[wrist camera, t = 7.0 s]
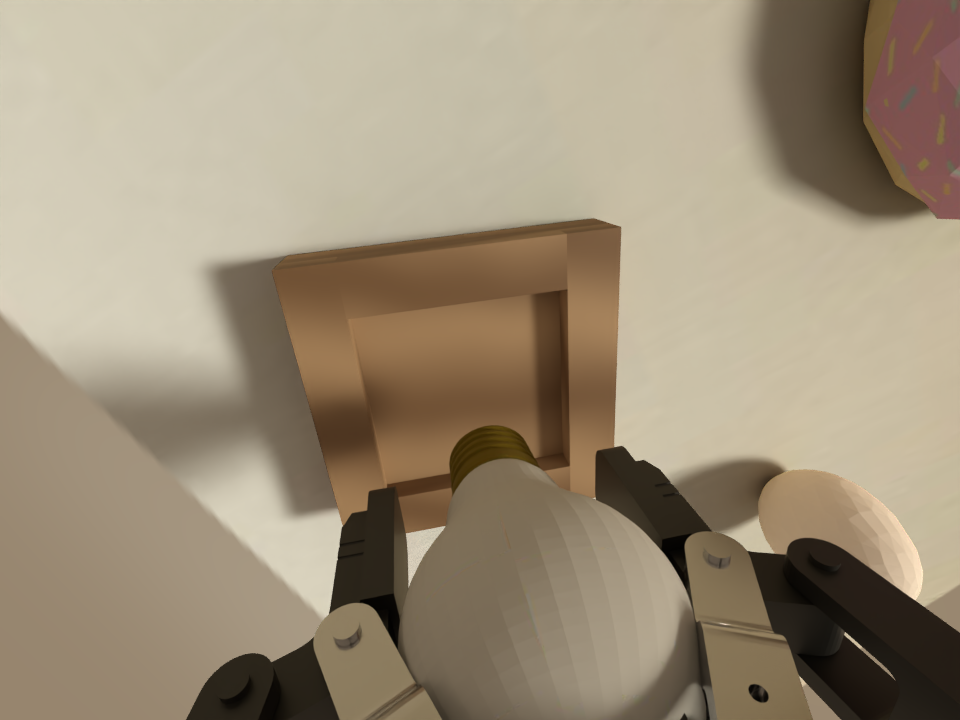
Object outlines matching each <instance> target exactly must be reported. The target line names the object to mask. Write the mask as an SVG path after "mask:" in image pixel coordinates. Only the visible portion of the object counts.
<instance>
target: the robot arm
mask: <svg viewBox="0 0 960 720" xmlns="http://www.w3.org/2000/svg"><path fill="white" fill-rule="evenodd" d="M595 496H596V500H597V501H599V502H601V503H604V504H606V505H608V506H610V507H612V508H613V509H615V510H616V511H618V512H619V513H621V514H622V515H623V516H625V517H626V518H628V519H629V520H631V521H632V522H633V523H634V524H636V525H637V526H638V527H639V528H640V529H641V530H643V531H644V532H645V533H646V534H647V535H648V537H649V538H650V539H651V540H652V541H653V542H654V543H655V544H656V545H657V546H658V547H659V549H660V550H661V551H662V552H663V553H664V554H665V556H666V557H667V559H668V560H669V561H670V563H671V564H672V566H673V567H674V569H675V571H676V572H677V574H678V576H679V578H680V579H681V581H682V583H683V585H684V587H685V589H686V591H687V593H688V594H689V597H690V600H691V603H692V607H693V612H694V617H695V623H696V630H697V638H698V648H699V661H700V679H701V689H702V691H703V693H704V698H705V703H706V720H813V718H812V715H811V712H810V709H809V706H808V703H807V700H806V697H805V694H804V690H803V687H802V684H801V681H800V678H799V676H800V677H801V678H802V679H803V680H804V681H805V682H806V683H807V684H808V685H809V686H810V687H811V688H812V689H813V690H814V692H815V693H816V694H817V695H818V696H819V697H820V698H821V699H822V700H823V701H824V702H825V703H826V704H827V705H828V706H829V707H830V708H831V709H832V710H833V711H834V712H835V714H836V715H837V716H838V717H839V718H840V719H841V720H960V633H959V632H958V631H956V630H955V629H954V628H952V627H951V626H949V625H948V624H947V623H946V622H944V621H943V620H941V619H940V618H939V617H937V616H936V615H934V614H933V613H932V612H930V611H929V610H927V609H926V608H925V607H923V606H922V605H921V604H919V603H918V602H916V601H915V600H914V599H912V598H911V597H909V596H908V595H907V594H905V593H904V592H903V591H901V590H900V589H898V588H897V587H896V586H894V585H893V584H891V583H890V582H889V581H887V580H886V579H884V578H883V577H882V576H880V575H879V574H878V573H876V572H875V571H873V570H872V569H871V568H869V567H868V566H866V565H865V564H864V563H862V562H861V561H860V560H858V559H857V558H855V557H854V556H853V555H851V554H850V553H848V552H847V551H845V550H844V549H842V548H841V547H839V546H837V545H835V544H833V543H830V542H827V541H824V540H821V539H816V538H799V539H796V540H794V541H792V542H791V543H790V544H789V546H788V548H787V552H786V554H772V553H758V552H750V551H747V550H746V549H745V548H744V547H743V546H742V545H741V544H740V543H739V542H737V541H736V540H734V539H733V538H731V537H729V536H726V535H724V534H721V533H717V532H712V531H711V530H710V528H709V527H708V526H707V525H706V524H705V522H704V521H703V520H702V519H701V518H700V517H699V515H698V514H697V513H696V512H695V511H694V509H693V508H692V507H691V506H690V505H689V503H688V502H687V501H686V500H685V499H684V498H683V496H682V495H679V492H678V490H677V489H676V488H675V487H674V486H673V485H672V484H671V483H670V481H669V480H668V479H667V477H666V476H665V475H664V474H663V473H662V472H661V470H660V469H658V468H656V467H655V466H653V465H651V464H650V463H648V462H647V461H645V460H641V461H635V460H634V459H633V457H632V456H631V455H630V454H629V452H628V451H627V450H626V449H625V448H624V447H623V446H619V447H614V448H608V449H602V450H598V451H597V452H596V457H595ZM408 589H409V588H408V553H407V540H406V533H405V527H404V522H403V517H402V512H401V508H400V503H399V498H398V493H397V489H396V486H393V487H388V488H382V489H377V490H371V491H369V493H368V504H367V510H366V511H361V512H355V513H351V515H350V517H349V518H348V520H347V521H346V523H345V524H344V526H343V527H342V531H341V538H340V547H339V551H338V561H337V565H336V572H335V579H334V586H333V592H332V599H331V606H330V611H329V615H328V616H327V617H326V618H325V619H324V620H323V621H322V622H321V624H320V625H319V627H318V629H317V631H316V633H315V636H314V637H313V638H312V639H311V640H310V641H309V642H308V643H306V644H305V645H304V646H302V647H300V648H299V649H297V650H295V651H293V652H291V653H289V654H287V655H285V656H283V657H281V658H279V659H277V660H276V661H273V662H270V660H269V659H268V658H267V657H265V656H264V655H261V654H255V653H251V654H245V655H242V656H239V657H236V658H234V659H232V660H230V661H229V662H227V663H226V664H224V665H223V666H221V667H220V668H219V669H218V670H217V671H216V672H214V674H213V675H212V676H211V677H210V678H209V679H208V681H207V682H206V683H205V685H204V686H203V688H202V690H201V692H200V693H199V695H198V697H197V699H196V701H195V703H194V705H193V707H192V709H191V711H190V713H189V715H188V717H187V719H186V720H442V719H441V717H440V715H439V713H438V711H437V710H436V708H435V706H434V704H433V702H432V701H431V699H430V697H429V695H428V694H427V692H426V690H425V689H424V688H423V686H422V685H421V684H419V685H417V684H416V683H415V681H414V679H413V678H412V676H411V674H410V672H409V670H408V669H407V667H406V665H405V663H404V661H403V659H402V658H401V656H400V654H399V652H398V634H399V625H400V619H401V614H402V610H403V607H404V603H405V599H406V595H407V592H408ZM845 632H846V633H847V634H848V635H850V636H851V637H852V638H853V639H854V640H855V641H856V642H858V643H859V644H860V645H861V646H862V647H863V648H864V649H866V650H867V651H868V652H869V653H870V654H871V655H872V656H874V657H875V658H876V659H877V660H878V661H879V662H880V663H882V664H883V665H884V666H885V667H886V668H887V669H888V670H889V671H890V672H891V674H892V675H893V677H894V678H895V680H894V679H893V678H892V677H891V676H890V675H889V674H888V673H886V672H885V671H884V670H883V669H882V668H881V667H880V666H879V665H877V664H876V663H875V662H874V661H873V660H872V659H870V658H869V657H868V656H867V655H866V654H865V653H864V652H863V651H861V650H860V649H859V648H858V647H857V646H856V645H855V644H854V643H852V642H851V641H850V640H849V639H848V638H847V637H846V636H845V635H844V633H845ZM680 720H688V718H687V716H686V715H685V713H684V714H683V716H682V718H681V719H680Z"/></svg>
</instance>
